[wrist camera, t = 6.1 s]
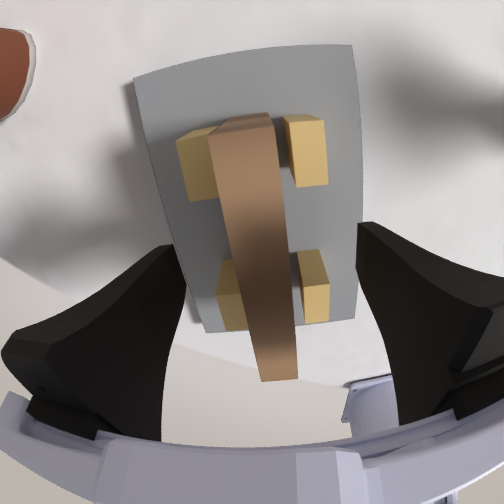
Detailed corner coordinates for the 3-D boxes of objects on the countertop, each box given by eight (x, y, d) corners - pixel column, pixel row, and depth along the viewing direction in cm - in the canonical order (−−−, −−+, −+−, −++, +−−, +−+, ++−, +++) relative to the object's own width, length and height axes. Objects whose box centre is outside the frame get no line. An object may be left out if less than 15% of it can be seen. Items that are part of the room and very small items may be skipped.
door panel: (289, 292, 16) (298, 378, 11) (261, 295, 17) (261, 381, 11) (267, 112, 11) (273, 125, 6) (231, 117, 11) (207, 136, 6)
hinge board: (351, 308, 18) (365, 352, 15) (208, 322, 19) (199, 368, 16) (345, 48, 10) (377, 33, 7) (141, 78, 11) (100, 77, 8)
